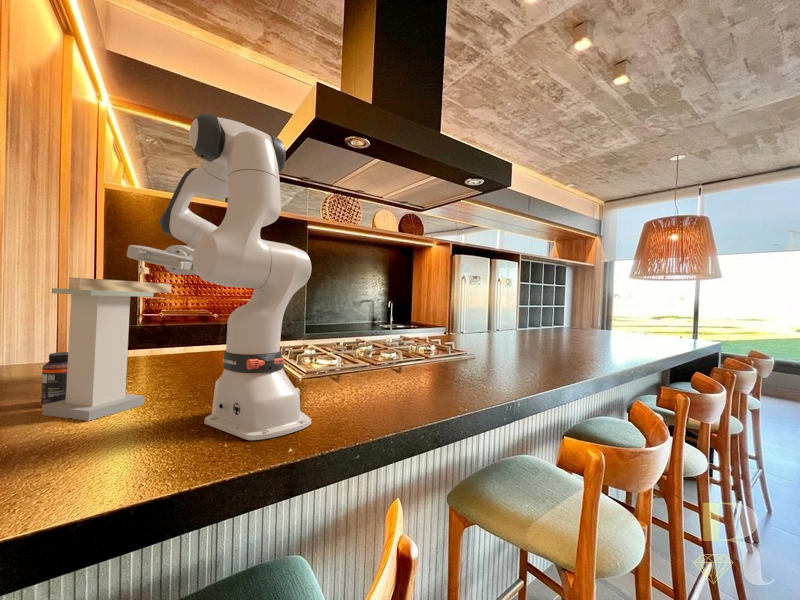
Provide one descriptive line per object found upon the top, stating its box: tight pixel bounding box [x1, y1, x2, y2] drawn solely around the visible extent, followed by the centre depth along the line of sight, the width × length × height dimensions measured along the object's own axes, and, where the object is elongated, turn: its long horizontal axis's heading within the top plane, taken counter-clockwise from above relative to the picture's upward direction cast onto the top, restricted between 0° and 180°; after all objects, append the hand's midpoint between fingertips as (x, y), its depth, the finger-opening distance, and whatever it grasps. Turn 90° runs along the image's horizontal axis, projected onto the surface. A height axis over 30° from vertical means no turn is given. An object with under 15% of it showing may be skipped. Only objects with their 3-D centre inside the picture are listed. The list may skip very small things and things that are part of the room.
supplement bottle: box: [40, 351, 68, 406], centre depth 79 cm, size 6×6×11 cm
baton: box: [68, 277, 172, 294], centre depth 82 cm, size 22×3×2 cm, turn 169°
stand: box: [41, 287, 155, 422], centre depth 77 cm, size 14×12×26 cm
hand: (158, 260), depth 92 cm, fingers open, 8 cm apart
